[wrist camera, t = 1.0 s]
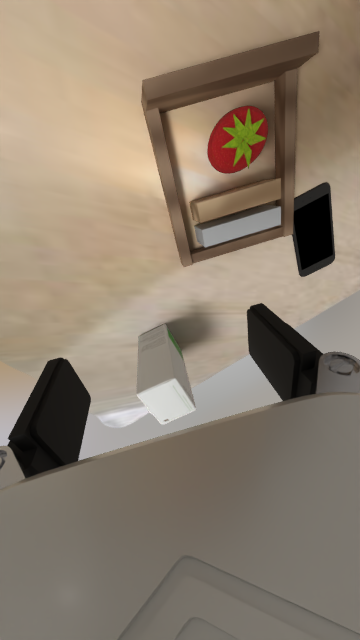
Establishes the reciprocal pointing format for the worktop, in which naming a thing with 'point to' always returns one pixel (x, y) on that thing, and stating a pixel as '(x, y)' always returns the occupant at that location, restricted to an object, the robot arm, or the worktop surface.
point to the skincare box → (163, 376)
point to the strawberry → (237, 139)
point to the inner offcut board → (236, 200)
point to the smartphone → (313, 230)
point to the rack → (218, 81)
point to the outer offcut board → (238, 225)
